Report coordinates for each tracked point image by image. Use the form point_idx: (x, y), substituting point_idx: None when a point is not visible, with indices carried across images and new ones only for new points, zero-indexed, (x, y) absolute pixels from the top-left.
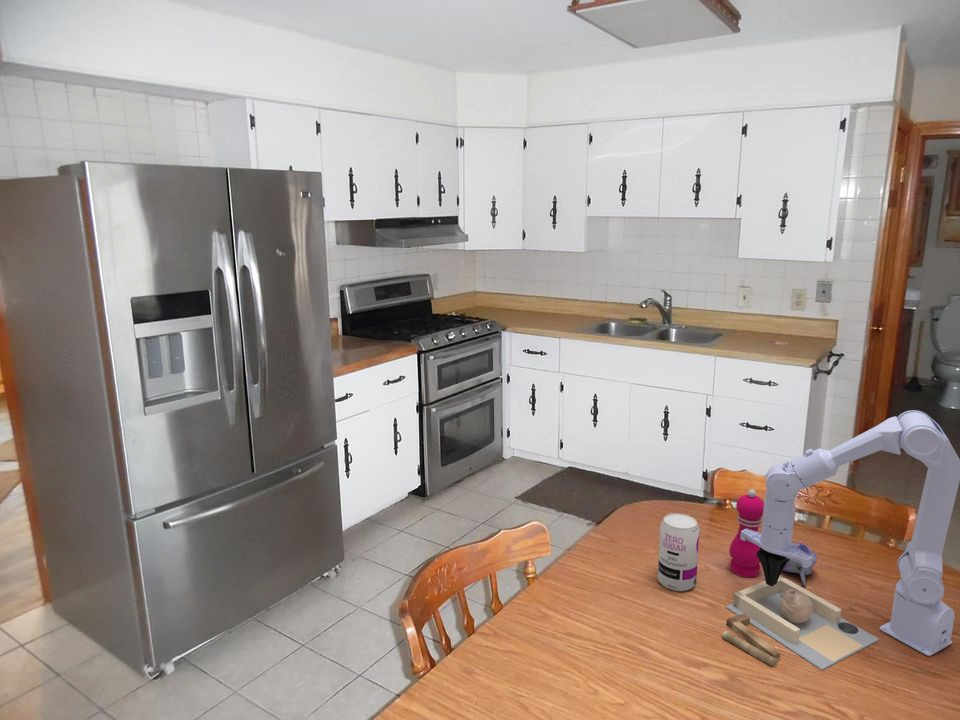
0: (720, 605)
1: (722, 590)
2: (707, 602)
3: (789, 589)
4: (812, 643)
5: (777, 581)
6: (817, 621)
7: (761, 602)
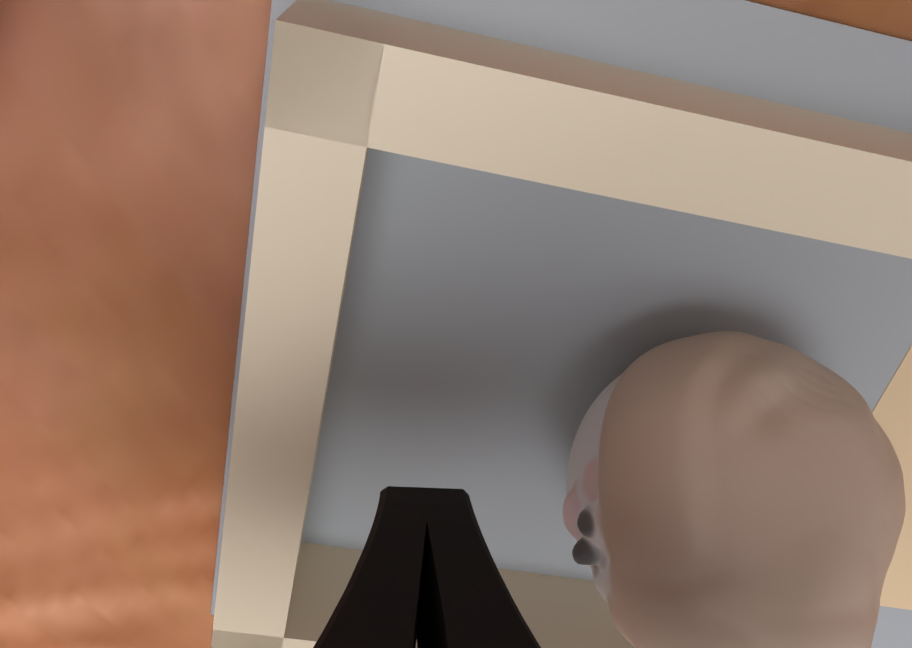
0: (170, 605)
1: (15, 449)
2: (88, 634)
3: (690, 643)
4: None
5: (471, 507)
6: (856, 310)
7: (360, 399)
